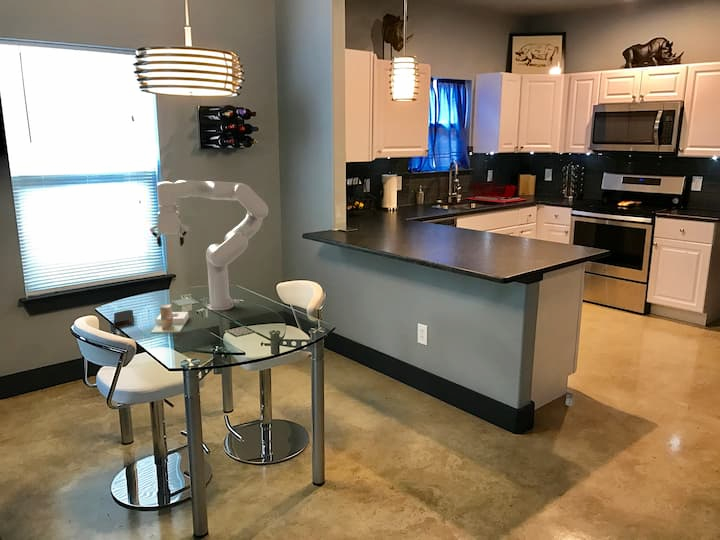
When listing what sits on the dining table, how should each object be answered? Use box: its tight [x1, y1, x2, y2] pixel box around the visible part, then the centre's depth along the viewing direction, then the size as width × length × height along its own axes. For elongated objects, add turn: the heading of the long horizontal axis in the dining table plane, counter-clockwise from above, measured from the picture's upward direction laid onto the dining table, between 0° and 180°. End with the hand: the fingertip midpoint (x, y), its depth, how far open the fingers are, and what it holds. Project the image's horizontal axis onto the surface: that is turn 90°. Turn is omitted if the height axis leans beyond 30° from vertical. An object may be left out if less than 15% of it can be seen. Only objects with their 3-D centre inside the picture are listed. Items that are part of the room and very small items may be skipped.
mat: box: [150, 324, 185, 334], centre depth 250 cm, size 12×9×1 cm
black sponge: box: [113, 309, 135, 328], centre depth 261 cm, size 16×8×4 cm, turn 22°
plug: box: [159, 304, 173, 330], centre depth 249 cm, size 4×4×10 cm
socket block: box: [155, 311, 190, 326], centre depth 260 cm, size 12×10×4 cm
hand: (171, 245), depth 268 cm, fingers open, 9 cm apart
